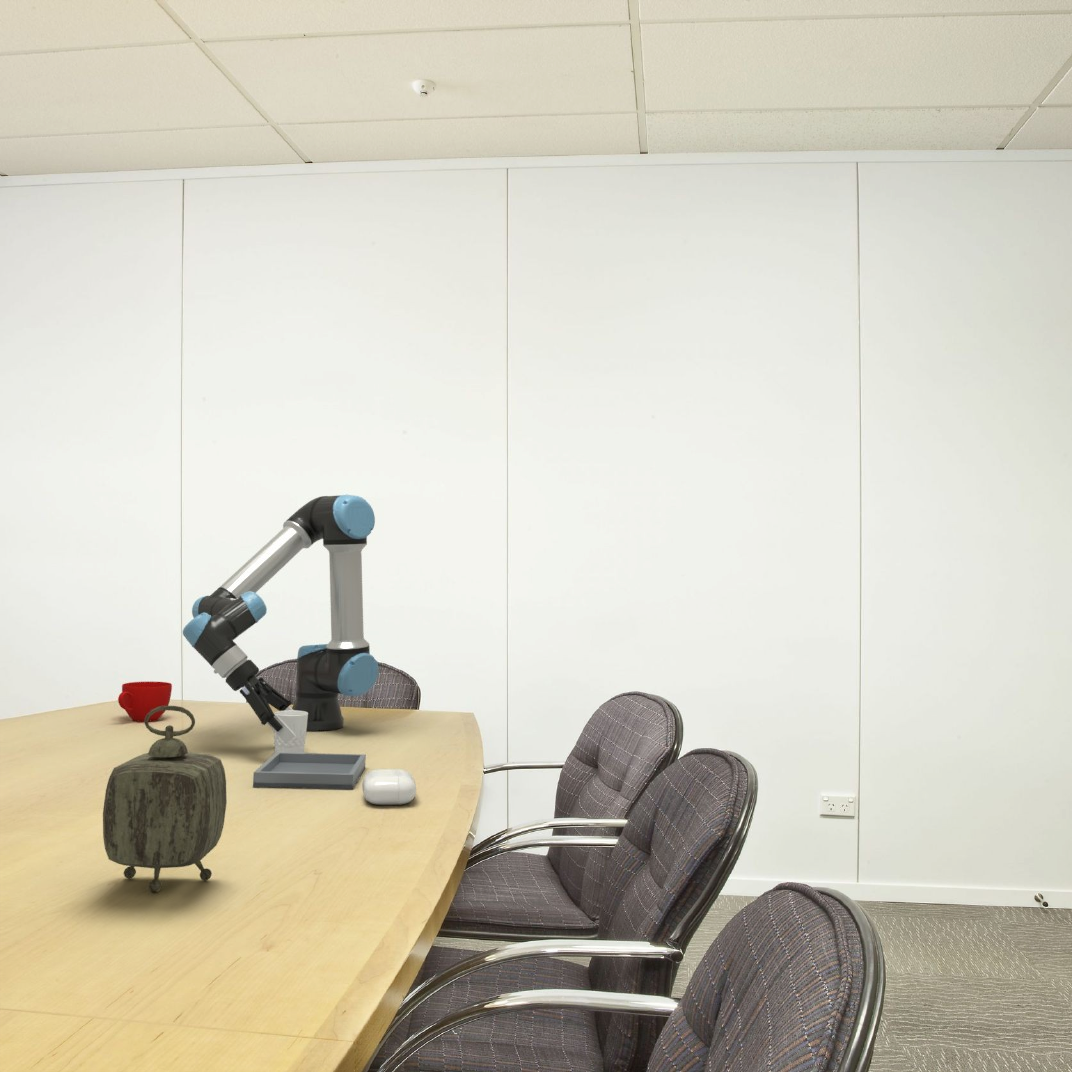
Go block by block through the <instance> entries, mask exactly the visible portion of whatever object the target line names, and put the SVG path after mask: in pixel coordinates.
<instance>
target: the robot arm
mask: <svg viewBox="0 0 1072 1072" xmlns="http://www.w3.org/2000/svg"><path fill="white" fill-rule="evenodd" d="M375 522H376V517H375V512H374V510H373V508H372V505H371V504H370V503H369V502H368V501H367V500H366V499H365V498H363V497H362V496H359V495H354V494H353V495H352V494H342V495H324V496H323V495H322V496H319V497H315V498H313V499H311V500H310V501H308V502H307V503H305V504H304V505H303V506H301V507H300V508H299V509H298V510H297V511H295V512H294V513H293V514H291V515H290V516H289V517H288V519H285V521H284V522H283V525H282V529H281V530H280V531H279V532H278V533H277V534H276V535H275V536H273V537H272V538H271V539H270V540H269V541H268V542H267V543H265V545H264V546H262V548H260V549H259V550H258V551H257V552H256V553H255V554H254V555H253V556H251V558H249V559H248V560H247V561H246V562H245V563H244V564H243V565H242V566H240V567H239V569H237V570H236V571H235V572H234V573H233V574H232V575H231V576H230V577H228V578H227V580H226V581H224V583H222V584H221V585H220V586H219V587H218V588H216V590H215V591H213V592H212V593H211V594H210V595H205V596H201V597H199V598H197V599H196V600H195V601H194V602H193V605H192V607H191V613H192V617H193V619H191V620H190V621H189V622H188V623H187V624H186V625H184V627H183V630H182V636H184V638H185V640H186V641H187V642H188V643H189V644H190V645H191V647H192V648H193V649H194V650H195V651H196V652H197V653H198V654H199V655H200V656H201V657H202V658H203V659H204V660H205V661H206V662H207V663H208V664H209V665H210V666H211V668H213V673H214V674H218V675H219V676H220V677H221V678H222V679H225V683H226V684H227V685H228V686H229V687H230V688H231V689H232V690H233V691H234V692H236V691H237V692H238V691H239V693H240V694H241V695H242V697H244V699H245V700H246V701H247V703H248V705H249V706H250V708H251V709H252V710H253V712H254V713H255V715H256V716H257V718H258V719H259V721H260V724H261V725H263V726H265V725H268V726H269V727H270V728H271V729H272V730H273V732H274V731H275V732H276V733H277V734H278V736H279V737H280V738H281V739H282V740H283V741H284V742H285V743H286V744H287V743H288V742H289V741H290V740H291V739H292V738H294V737H295V736H296V735H295V734H294V733H293V732H292V731H291V730H290V728H289V727H288V726H287V725H286V724H285V723H284V722H283V721H282V720H281V719H280V718H279V717H278V716H277V715H276V716H275V715H274V713H275V712H274V711H273V709H272V708H271V706H272V707H273V708H274V709H276V710H277V711H288V710H295V711H305V712H308V721H307V731H309V732H310V731H311V732H312V731H313V732H315V731H316V732H317V731H318V732H319V730H320V731H321V730H322V732H323V730H324V731H331V730H334V731H335V730H338V729H340V728H341V729H342V728H343V727H344V716H343V714H342V709H341V705H340V701H339V694H340V695H343V696H347V697H351V696H352V697H358V696H359V697H360V696H362V695H365V694H366V693H368V692H369V691H371V689H372V687H373V686H375V684H376V682H377V680H378V676H379V672H380V671H379V664H378V660H377V659H375V657H374V656H373V655H372V654H371V653H370V650H371V649H370V643H369V641H367V640H366V638H364V606H363V604H364V603H363V601H364V600H363V596H364V595H363V565H362V564H363V563H362V562H363V561H362V560H363V559H362V558H363V557H362V555H363V554H362V551H363V550H364V548H365V547H366V546H367V545H368V536H369V535H370V534H372V531H373V530H374V528H375V524H376V523H375ZM320 540H322V541H323V542H322V543H323V544H322V545H323V547H324V548H325V549H326V550H327V551H328V554H329V555H328V557H329V591H330V592H329V593H330V595H329V597H330V601H329V602H330V629H331V631H330V632H331V633H330V634H331V639H330V641H329V642H328V643H325V644H311V645H310V644H309V645H302V646H301V647H299V648H298V651H297V658H296V662H297V663H296V681H295V684H296V687H295V699H294V702H293V705H292V702H291V700H288V699H287V698H285V696H283V695H282V694H281V693H280V692H278V690H276V689H275V688H273V687H272V686H271V685H270V684H269V683H268V682H267V681H266V680H265V679H264V678H263V677H259V678H257V677H256V675H257V674H258V673H259V672H260V668H259V667H258V666H257V665H256V664H255V663H254V662H253V661H252V659H248V655H247V654H246V653H245V652H244V651H243V650H242V649H241V648H240V647H239V645H238V644H237V643H236V642H235V641H234V640H236V639H237V638H238V637H239V636H241V635H242V634H243V633H245V632H246V631H247V630H249V629H250V628H251V627H253V626H254V625H255V624H258V622H259V621H260V620H261V619H262V618H263V617H264V616H265V615H266V614H267V606H266V603H265V601H264V600H263V598H262V597H261V596H260V595H259V594H257V593H258V591H259V590H261V588H263V587H264V586H265V585H266V583H268V582H269V581H270V580H271V579H272V578H274V576H276V574H278V572H279V571H280V570H282V569H283V568H284V567H285V566H286V565H287V564H288V563H289V562H290V561H292V559H293V558H294V557H295V556H296V555H297V554H299V553H300V552H301V551H302V550H303V549H309V548H310V547H312V545H313V544H315V543H317V542H318V541H320ZM291 705H292V707H291ZM274 716H275V717H274ZM307 731H306V732H307Z"/></svg>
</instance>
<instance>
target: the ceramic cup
mask: <svg viewBox="0 0 1072 1072" xmlns="http://www.w3.org/2000/svg"><path fill="white" fill-rule="evenodd" d="M172 690H173V684H172V683H170V682H166V681H134V682H133V681H132V682H131V681H130V682H125V683H122V685H121V693H119V694H118V697H117V701H118V704H119V707H120V708H121V709H123V710H124V711H125V712H126V714H127V715H128V717H130V718H131V720H132V721H133V722H137V723H138V722H141V723H143V722H144V723H145V717H146V715H147V714H148V713H149V712H150V711H151V710H152V709H155V708H157V707H160V706H170V705H169V704H170V700H171V696H172ZM165 712H167V710H165V711H158V712H156V713H154V714H153V715H151V716H150V717H149V719H148V723H149V722H155V721H159V719H160V718H161V717H162V716H163V715H164V713H165Z"/></svg>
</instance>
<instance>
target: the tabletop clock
mask: <svg viewBox="0 0 1072 1072" xmlns="http://www.w3.org/2000/svg"><path fill="white" fill-rule="evenodd" d="M165 710H166V711H174V712H178V713H179V712H180V713H182V714H185V715H186V716H187V717H188V718H189V719H190V720H191V723H190V725H189V727H188V728H185V729H181V730H174V726H173V725H171V724H169V725H166V727H165V729H164V730H160V729H157V728H154V727H152V726H151V725H150V723H149V722H148V719H149V717H150V716H151V715H153V714H154V713H156V712H158V711H165ZM166 711H165V712H166ZM195 724H196V720H195V717H194V714H193V713H192V712H191V711H190V710H189V709H187V708H185V707H182V706H178V705H168V706H160V707H157V708H155V709H152V710H151V711H150V712H149V713H148V714H147V715H146V717H145V722H144V725H145V727H146V729H147V730H148V731H149V732H150V733H152V734H155V735H158V736H162V737H164V738H159V739H158V740H156V741H155V742H153V743H152V745H151V746H150V748H149V750H148V752H146V753H143V754H140V755H137V756H135V757H133V758H131V759H129V760H127V761H126V762H123V763H121V764H119V765H117V766H115V767H113V769H112V771H111V773H110V774H109V777H108V780H107V783H106V784H107V785H106V789H105V793H104V802H103V808H102V809H103V810H102V831H103V832H102V834H103V835H102V836H103V838H102V839H103V844H104V845H103V846H104V850H105V853H106V856H107V859H108V860H109V861H110V862H113V863H114V864H115V863H116V864H118V865H123V866H126V868H125V869H124V871H123V876H124V877H125V878H126V879H132V878H134V877H135V875H136V874H137V870H136V868H144V869H154V870H153V871H154V872H153V875H154V876H153V879H152V880H151V881H150V882H149V884H148V889H149V891H150V892H152V893H157V892H159V891H160V890H161V888H162V881H161V880H160V879H159V878H160V873H161V869H166V868H167V869H168V868H169V869H170V868H184V867H189V866H192V865H195V866H196V868H198V870H199V871H200V872H199V878H200V880H202V881H208V880H210V878H211V877H212V874H213V873H212V870H211V869H210V868H205V867H204V865H203V863H202V862H201V860H203V859H204V858H205V857H206V856H207V855H208V854H209V853H211V851H212V850H214V849H215V848H216V847H217V846H218V843H219V841H220V838H221V836H222V835H223V828H224V826H225V818H226V812H227V811H226V810H227V804H228V803H227V778H226V771H225V767H224V765H223V762H222V760H221V758H218V757H216V756H214V755H211V754H208V753H201V752H192V751H189V750H188V747H187V745H186V744H185V743H184V742H183V741H182V740H181V739H179V738H178V737H177V736H182V735H186V734H188V733H189V732H190V731H192V730H193V729H194V727H195V726H196V725H195ZM176 737H177V738H176ZM127 866H128V867H127ZM135 867H136V868H135Z"/></svg>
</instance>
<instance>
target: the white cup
mask: <svg viewBox="0 0 1072 1072" xmlns="http://www.w3.org/2000/svg"><path fill="white" fill-rule="evenodd" d="M273 713H274V715H275V716H276V715H277V716H278V717H279V718H280V719H281V720H282V721H283V722H284V723H285V724H286V725H287V726H288V727H289V728H290V730H291V731H292V732H293V733H294V734H295V735H296V736H295V737H294V738H292V739H291V740H290V741H289V742H288V743H287V744H286V743H285V742H284V741H283V740H282V739H281V738H280V737H279V736H278V734H277V733H276V732H275V731H274V730H273V744H274V754H275V753H276V752H285V753H305V752H304V751H305V745H306V740H307V721H308V712H305V711H295V710H288V711H279V710H277V711H275V712H273ZM275 716H274V717H275Z"/></svg>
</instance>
